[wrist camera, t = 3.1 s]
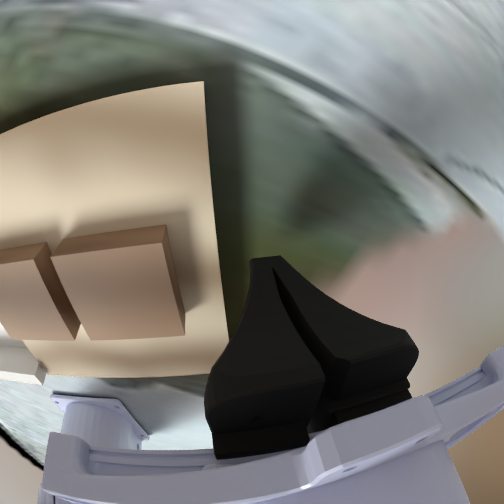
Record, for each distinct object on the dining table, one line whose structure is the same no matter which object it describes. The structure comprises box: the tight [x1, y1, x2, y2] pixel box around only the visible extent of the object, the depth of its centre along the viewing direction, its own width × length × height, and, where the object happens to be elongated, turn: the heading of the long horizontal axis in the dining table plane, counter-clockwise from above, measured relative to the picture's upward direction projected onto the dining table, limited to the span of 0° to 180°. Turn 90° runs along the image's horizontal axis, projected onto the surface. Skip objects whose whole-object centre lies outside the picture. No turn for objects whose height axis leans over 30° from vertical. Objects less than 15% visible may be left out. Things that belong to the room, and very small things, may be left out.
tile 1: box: [51, 224, 185, 341], centre depth 12 cm, size 5×5×2 cm
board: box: [0, 81, 229, 378], centre depth 13 cm, size 16×14×2 cm
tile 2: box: [0, 242, 81, 341], centre depth 11 cm, size 5×5×2 cm
